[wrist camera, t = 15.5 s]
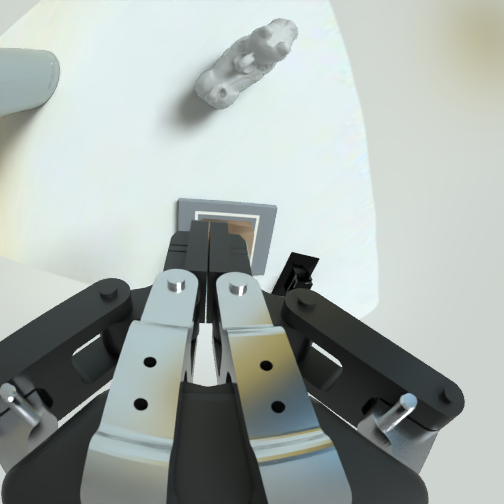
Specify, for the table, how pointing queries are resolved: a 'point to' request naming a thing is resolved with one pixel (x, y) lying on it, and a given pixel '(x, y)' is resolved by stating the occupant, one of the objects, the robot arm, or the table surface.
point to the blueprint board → (236, 211)
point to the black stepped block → (295, 274)
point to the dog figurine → (246, 63)
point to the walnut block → (238, 231)
